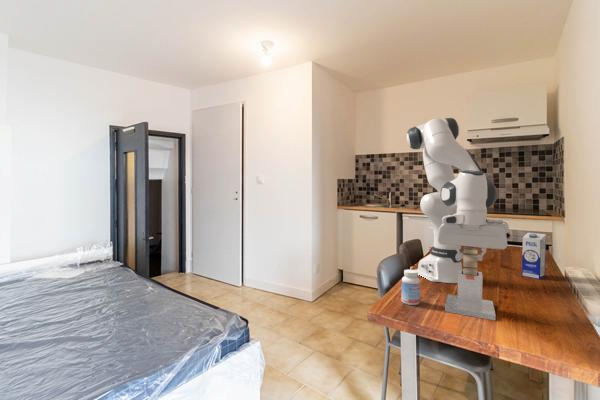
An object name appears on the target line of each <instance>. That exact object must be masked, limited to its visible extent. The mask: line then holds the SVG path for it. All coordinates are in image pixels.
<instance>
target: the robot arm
mask: <svg viewBox="0 0 600 400" xmlns="http://www.w3.org/2000/svg"><path fill="white" fill-rule="evenodd" d="M459 133H460V125H459V123H458V122H457V120H456V119H455V118H453V117H446V118H443V119H441V118H433V119H429V120H428V121H427V122H425V123H422V124H420V125H418V126H413V127H411V128H409V129H408V130H407V133H406V143H407V145H408V146H409V148H411V149H412V150H420V149H422V160H423V167H424V171H425V174H426V178H427V182H428V184H429V185H430V186H431V187H433V188H434V189H435V190H437V191H435V192H430V193H427V194H424V195H423V196H422V197H421V200H420V203H419V208H420V210H421V213H422V214H423V215H424V216H426V217H427V218H428V220H429V222H430V223H431V225H432V226H431V227H432V232H433V246H431V247H429V248H428V251H430V252H429V253H430V254H428V255H426V256H425V257H423V258H422V259H419V261H418V265H417V266H418V267H417V268H416V269H414V270H415V271H417V272H418V276H419V275H420V276H419V277H421V276H422V278H423V277H424V278H423V279H425V278H426V280H428V281H430V282H436V283H437V282H438V283H445V284H446V283H447V284H458V270H463V266H462V265H463V264H462V260H463V249H462V247H468V248H481V249H480V250H481V252H480V253H479V254H478V256H477V262H483V256H484V255H485V254H486V252H487V249H495V250H505V249H507V247H508V237H507V234H508V233H509V231H510V229H509V228H510V227H509V224H508V222H506V221H504V220H502V219H487V218H488V217H487V216H488V209H489V208H490V207H492V206H493V205H494V203H496V201H497V200H498V195H499V193H498V189H497V186H496V185H495V184H494V183H493V182H492V181H491V180H490V179H489V178H488V177H487V176H486V173H485V172H484V171H483V169H482V167H480V165H479V164H478V162H477V161H476V159H475V158H474V156H473V155H472V154H471V152H470V151H469V150H467V149H466V148H464V146H462V145H461V144H460V143H459V142H458V141H457V138H458V137H459ZM453 167H454V168H457V169H459V170H461V171H459V173H458V174H457V177H456V176H455V174H454V170H453Z"/></svg>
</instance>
